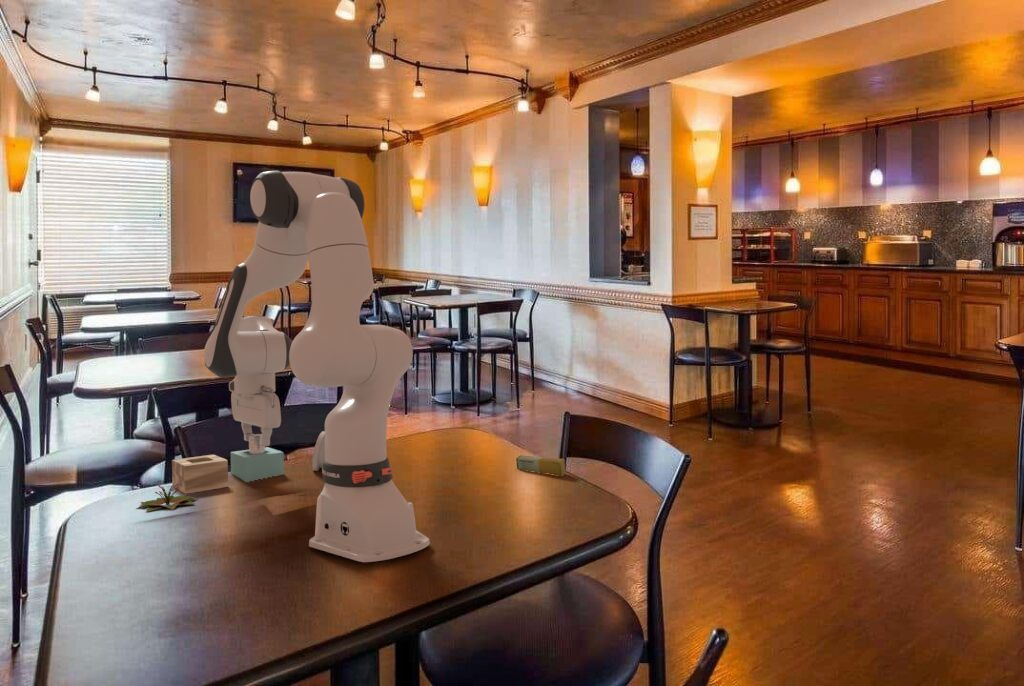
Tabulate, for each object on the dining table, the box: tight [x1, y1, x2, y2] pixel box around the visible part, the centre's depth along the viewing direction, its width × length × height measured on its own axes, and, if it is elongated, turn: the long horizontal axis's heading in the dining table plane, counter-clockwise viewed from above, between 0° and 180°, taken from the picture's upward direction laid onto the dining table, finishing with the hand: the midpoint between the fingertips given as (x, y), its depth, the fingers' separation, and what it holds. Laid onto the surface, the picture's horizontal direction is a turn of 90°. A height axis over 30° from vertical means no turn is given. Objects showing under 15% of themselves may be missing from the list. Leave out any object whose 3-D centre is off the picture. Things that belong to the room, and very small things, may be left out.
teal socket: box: [230, 446, 285, 483], centre depth 164 cm, size 9×9×6 cm
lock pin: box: [248, 433, 266, 455], centre depth 164 cm, size 4×4×9 cm
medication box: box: [515, 455, 567, 476], centre depth 165 cm, size 12×3×4 cm, turn 60°
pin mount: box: [171, 454, 229, 495], centre depth 155 cm, size 9×9×6 cm
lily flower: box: [135, 482, 199, 512], centre depth 141 cm, size 12×12×5 cm
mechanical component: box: [311, 430, 325, 472], centre depth 169 cm, size 10×4×10 cm, turn 179°
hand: (256, 443), depth 164 cm, fingers open, 8 cm apart
